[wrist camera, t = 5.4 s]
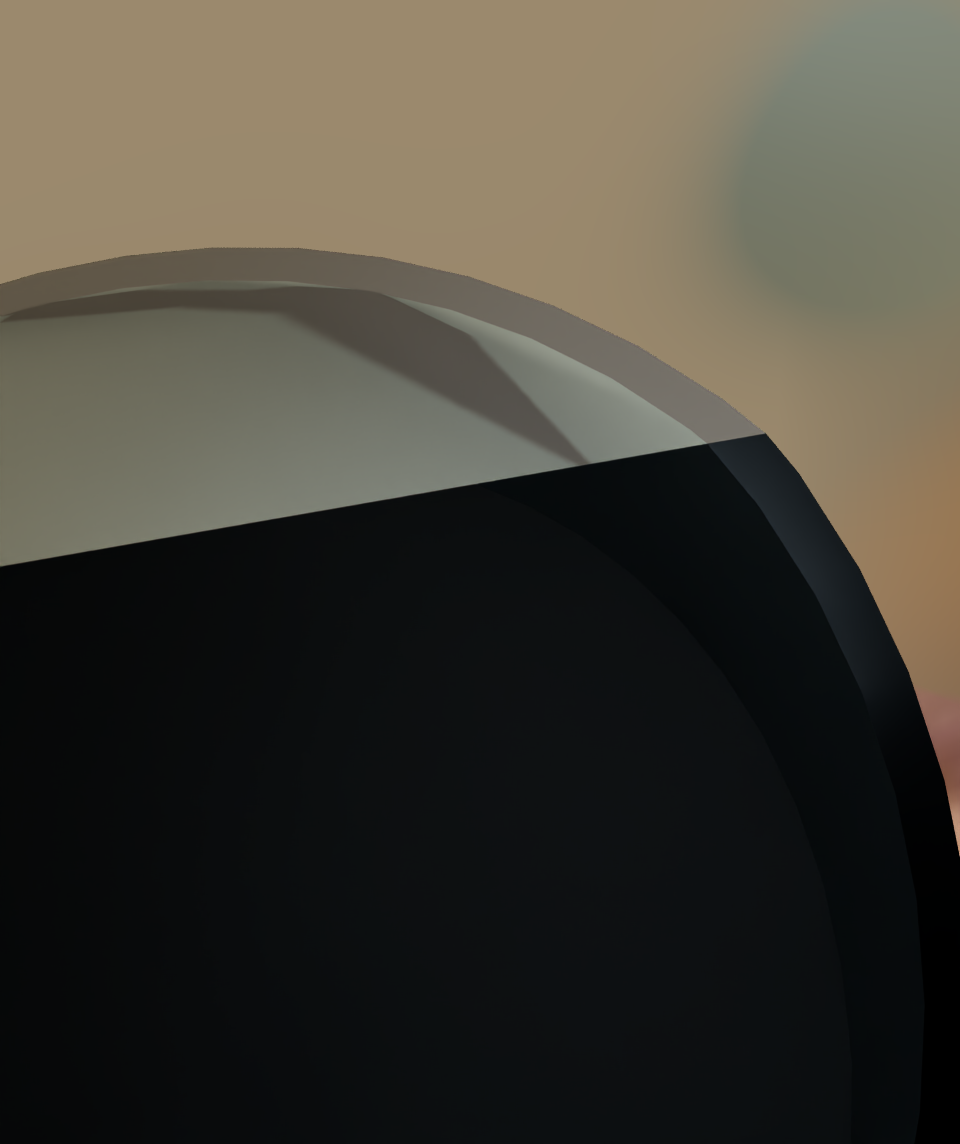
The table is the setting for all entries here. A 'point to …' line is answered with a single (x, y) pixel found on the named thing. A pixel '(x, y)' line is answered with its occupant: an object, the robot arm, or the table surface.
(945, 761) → the table surface
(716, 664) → the tube
